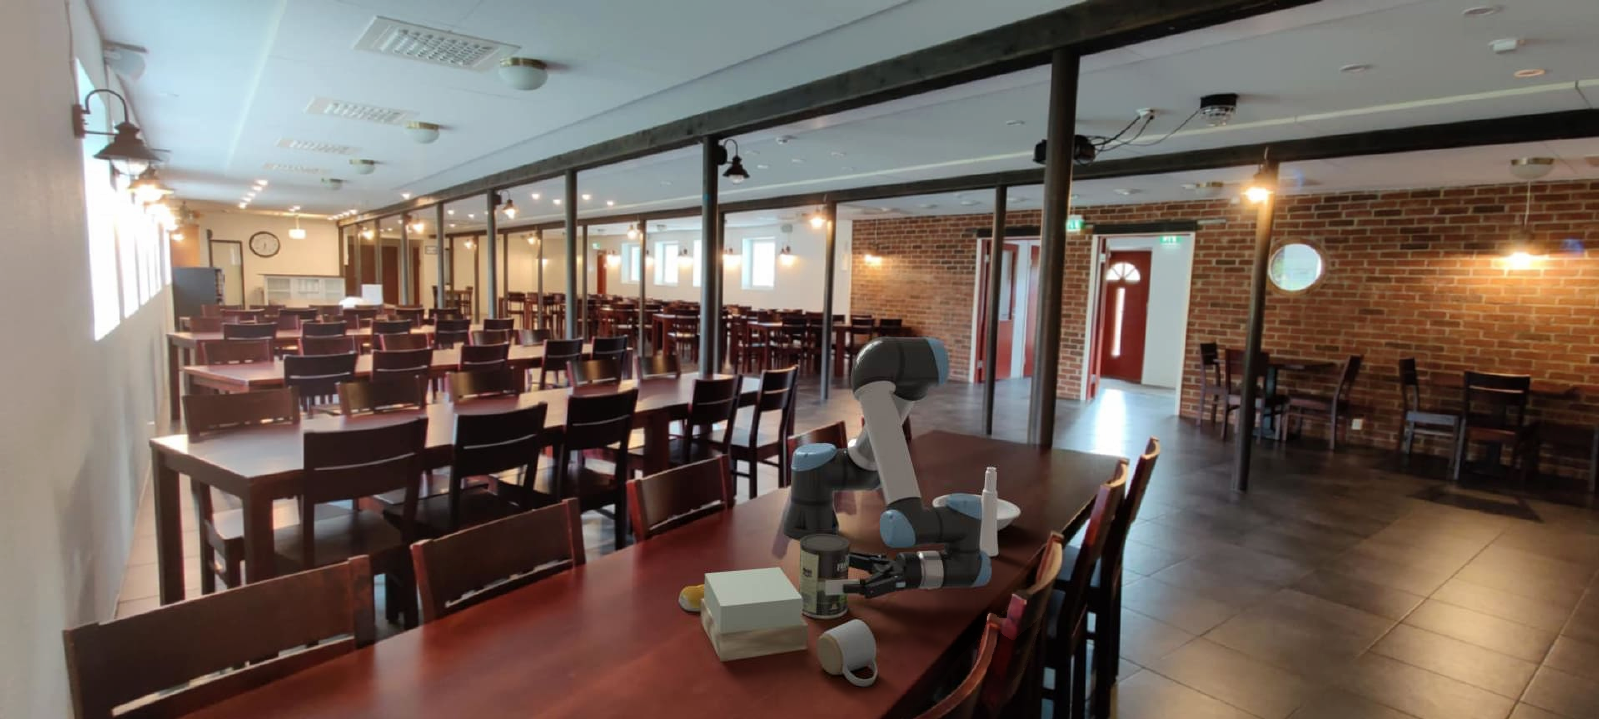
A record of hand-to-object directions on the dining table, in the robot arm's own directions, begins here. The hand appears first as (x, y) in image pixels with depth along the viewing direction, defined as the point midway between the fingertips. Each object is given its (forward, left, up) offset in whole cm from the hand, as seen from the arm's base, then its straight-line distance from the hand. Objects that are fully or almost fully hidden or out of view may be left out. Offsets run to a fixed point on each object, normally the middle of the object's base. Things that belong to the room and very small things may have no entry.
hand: (817, 574), depth 147 cm
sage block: (+7, -16, -3) cm, 18 cm away
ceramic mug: (+24, -3, -8) cm, 26 cm away
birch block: (+7, -16, -8) cm, 19 cm away
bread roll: (-9, -22, -8) cm, 25 cm away
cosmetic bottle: (-19, +54, -8) cm, 58 cm away
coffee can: (0, +1, -8) cm, 8 cm away
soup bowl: (-36, +62, -8) cm, 72 cm away
